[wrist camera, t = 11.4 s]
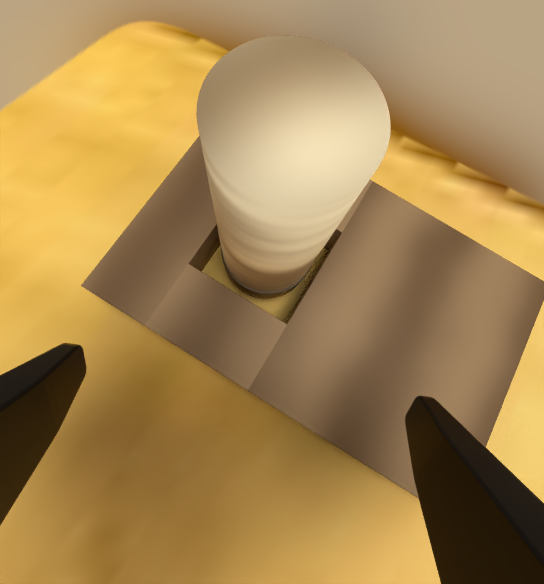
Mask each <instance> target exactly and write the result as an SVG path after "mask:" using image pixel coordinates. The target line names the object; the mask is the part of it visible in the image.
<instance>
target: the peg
mask: <svg viewBox="0 0 544 584" xmlns="http://www.w3.org/2000/svg"><path fill="white" fill-rule="evenodd" d="M197 123H198V130H199V135H200V140H201V145H202V150H203V155H204V161H205V166H206V171H207V176H208V181H209V186H210V191H211V197H212V202H213V207H214V212H215V217H216V222H217V227H218V233H219V238H220V243H221V253H222V259H223V262H224V265H225V268H226V271H227V273H228V275H229V277H230V279H231V280H232V281H233V283H234V284H235V285H236V286H237V287H238V288H239V289H241V290H242V291H244V292H245V293H247V294H249V295H252V296H254V297H258V298H274V297H278V296H281V295H284V294H286V293H288V292H290V291H291V290H292V289H294V288H295V287H296V286H297V285H298V284H299V283H300V282H301V281H302V279H303V278H304V277H305V276H306V274H307V273H308V271H309V269H310V267H311V265H312V264H313V262H314V261H315V259H316V258H317V256H318V255H319V253H320V252H321V250H322V249H323V247H324V246H325V244H326V243H327V242H328V240H329V239H330V237H331V236H332V234H333V233H334V231H335V230H336V228H337V227H338V225H339V224H340V222H341V221H342V220H343V218H344V217H345V215H346V214H347V212H348V211H349V209H350V208H351V206H352V205H353V203H354V202H355V200H356V199H357V198H358V196H359V195H360V193H361V192H362V190H363V189H364V187H365V186H366V184H367V183H368V181H369V180H370V178H371V177H372V176H373V174H374V173H375V171H376V170H377V168H378V167H379V165H380V163H381V161H382V160H383V158H384V156H385V153H386V150H387V147H388V144H389V138H390V115H389V110H388V106H387V103H386V100H385V98H384V95H383V93H382V91H381V89H380V87H379V86H378V84H377V82H376V81H375V80H374V78H373V77H372V76H371V74H370V73H369V72H368V71H367V70H366V69H365V68H364V67H363V66H362V65H361V64H360V63H359V62H358V61H356V60H355V59H354V58H353V57H351V56H350V55H348V54H347V53H345V52H344V51H342V50H340V49H338V48H336V47H334V46H332V45H330V44H328V43H325V42H323V41H319V40H316V39H312V38H308V37H302V36H291V35H279V36H269V37H263V38H259V39H256V40H252V41H250V42H247V43H244V44H242V45H240V46H238V47H236V48H235V49H233V50H231V51H230V52H229V53H227V54H226V55H225V56H223V57H222V58H221V59H220V60H219V61H218V62H217V63H216V64H215V65H214V66H213V68H212V69H211V70H210V72H209V73H208V75H207V76H206V78H205V80H204V82H203V84H202V87H201V90H200V92H199V97H198V102H197Z"/></svg>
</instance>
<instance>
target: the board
mask: <svg viewBox="0 0 544 584" xmlns="http://www.w3.org/2000/svg"><path fill="white" fill-rule="evenodd" d="M220 244H221V243H220V238H219V233H218V227H217V222H216V217H215V212H214V207H213V202H212V197H211V191H210V186H209V181H208V176H207V171H206V166H205V161H204V155H203V150H202V145H201V140H200V136H199V137H198V138H197V140H196V141H195V142H194V143H193V145H192V146H191V147H190V148H189V150H188V151H187V152H186V153H185V155H184V156H183V157H182V159H181V160H180V161H179V162H178V164H177V165H176V166H175V167H174V169H173V170H172V171H171V172H170V174H169V175H168V176H167V177H166V179H165V180H164V181H163V183H162V184H161V185H160V186H159V188H158V189H157V190H156V191H155V193H154V194H153V195H152V196H151V198H150V199H149V200H148V202H147V203H146V204H145V205H144V207H143V208H142V209H141V210H140V212H139V213H138V214H137V215H136V217H135V218H134V219H133V221H132V222H131V223H130V224H129V226H128V227H127V228H126V229H125V231H124V232H123V233H122V234H121V236H120V237H119V238H118V240H117V241H116V242H115V243H114V245H113V246H112V247H111V248H110V250H109V251H108V252H107V253H106V255H105V256H104V257H103V259H102V260H101V261H100V262H99V264H98V265H97V266H96V267H95V269H94V270H93V271H92V272H91V274H90V275H89V276H88V277H87V279H86V280H85V281H84V283H83V284H82V285H81V286H82V287H84V288H85V289H87V290H89V291H90V292H92V293H93V294H95V295H97V296H98V297H100V298H101V299H103V300H104V301H106V302H108V303H109V304H111V305H112V306H114V307H116V308H117V309H119V310H120V311H122V312H124V313H125V314H127V315H128V316H130V317H132V318H133V319H135V320H136V321H138V322H139V323H141V324H143V325H144V326H146V327H147V328H149V329H151V330H152V331H154V332H155V333H157V334H159V335H160V336H162V337H163V338H165V339H166V340H168V341H170V342H171V343H173V344H174V345H176V346H178V347H179V348H181V349H182V350H184V351H186V352H187V353H189V354H190V355H192V356H193V357H195V358H197V359H198V360H200V361H201V362H203V363H205V364H206V365H208V366H209V367H211V368H213V369H214V370H216V371H217V372H219V373H220V374H222V375H224V376H225V377H227V378H228V379H230V380H232V381H233V382H235V383H236V384H238V385H240V386H241V387H243V388H244V389H246V390H248V391H249V392H251V393H252V394H254V395H255V396H257V397H259V398H260V399H262V400H263V401H265V402H267V403H268V404H270V405H271V406H273V407H275V408H276V409H278V410H279V411H281V412H282V413H284V414H286V415H287V416H289V417H290V418H292V419H294V420H295V421H297V422H298V423H300V424H302V425H303V426H305V427H306V428H308V429H309V430H311V431H313V432H314V433H316V434H317V435H319V436H321V437H322V438H324V439H325V440H327V441H329V442H330V443H332V444H333V445H335V446H336V447H338V448H340V449H341V450H343V451H344V452H346V453H348V454H349V455H351V456H352V457H354V458H356V459H357V460H359V461H360V462H362V463H364V464H365V465H367V466H368V467H370V468H371V469H373V470H375V471H376V472H378V473H379V474H381V475H383V476H384V477H386V478H387V479H389V480H391V481H392V482H394V483H395V484H397V485H398V486H400V487H402V488H403V489H405V490H406V491H408V492H410V493H411V494H413V495H414V496H416V497H418V493H417V489H416V485H415V481H414V476H413V471H412V465H411V458H410V452H409V445H408V439H407V432H406V426H405V416H406V413H407V411H408V410H409V408H410V406H411V405H412V403H413V401H414V399H415V398H416V397H417V396H420V395H421V396H428V397H432V398H434V399H436V400H437V401H438V402H439V403H440V404H441V405H442V406H443V407H444V408H445V409H446V410H447V411H448V412H449V413H450V414H451V415H452V416H453V417H454V418H455V419H457V420H458V421H459V422H460V423H461V424H462V425H463V426H464V427H465V428H466V429H467V430H468V431H469V432H470V433H471V434H472V435H473V436H474V437H475V438H476V439H477V440H478V441H479V442H480V443H481V444H483V445H484V446H485V447H486V445H487V442H488V440H489V437H490V435H491V432H492V430H493V427H494V425H495V422H496V420H497V417H498V414H499V412H500V409H501V407H502V404H503V402H504V399H505V397H506V394H507V392H508V389H509V387H510V384H511V382H512V379H513V377H514V374H515V371H516V369H517V366H518V364H519V361H520V359H521V356H522V354H523V351H524V349H525V346H526V344H527V341H528V339H529V336H530V333H531V331H532V328H533V326H534V323H535V321H536V318H537V316H538V313H539V311H540V308H541V306H542V303H543V301H544V281H542V280H541V279H539V278H537V277H535V276H534V275H532V274H530V273H529V272H527V271H525V270H523V269H522V268H520V267H518V266H517V265H515V264H513V263H512V262H510V261H508V260H506V259H505V258H503V257H501V256H500V255H498V254H496V253H494V252H493V251H491V250H489V249H488V248H486V247H484V246H482V245H481V244H479V243H477V242H476V241H474V240H472V239H470V238H469V237H467V236H465V235H464V234H462V233H460V232H459V231H457V230H455V229H453V228H452V227H450V226H448V225H447V224H445V223H443V222H441V221H440V220H438V219H436V218H435V217H433V216H431V215H429V214H428V213H426V212H424V211H423V210H421V209H419V208H418V207H416V206H414V205H412V204H411V203H409V202H407V201H406V200H404V199H402V198H400V197H399V196H397V195H395V194H394V193H392V192H390V191H388V190H387V189H385V188H383V187H382V186H380V185H378V184H376V183H375V182H373V181H371V180H369V181H368V183H367V184H366V186H365V187H364V189H363V190H362V192H361V193H360V195H359V196H358V198H357V199H356V200H355V202H354V203H353V205H352V206H351V208H350V209H349V211H348V212H347V214H346V215H345V217H344V218H343V220H342V221H341V222H340V224H339V225H338V227H337V228H336V230H335V231H334V233H333V234H332V236H331V237H330V239H329V240H328V242H327V243H326V244H325V246H324V248H326V249H328V250H329V251H328V253H327V254H326V256H325V258H324V259H323V261H322V263H321V264H320V266H319V268H318V269H317V271H316V273H315V274H314V276H313V278H312V279H311V281H310V283H309V284H308V286H307V288H306V289H305V291H304V293H303V294H302V296H301V298H300V299H299V301H298V303H297V304H296V306H295V308H294V309H293V311H292V313H291V314H290V316H289V318H288V319H287V321H286V323H284V322H282V321H281V320H279V319H277V318H276V317H274V316H272V315H271V314H269V313H268V312H266V311H264V310H263V309H261V308H259V307H258V306H256V305H255V304H253V303H251V302H250V301H248V300H246V299H245V298H243V297H242V296H240V295H238V294H237V293H235V292H233V291H232V290H230V289H228V288H227V287H225V286H224V285H222V284H220V283H219V282H217V281H215V280H214V279H212V278H211V277H209V276H207V275H206V274H204V273H202V272H201V271H202V269H203V268H204V267H205V265H206V264H207V262H208V261H209V259H210V258H211V256H212V255H213V254H214V252H215V251H216V249H217V248H218V246H219V245H220ZM418 498H419V497H418Z"/></svg>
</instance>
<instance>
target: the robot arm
mask: <svg viewBox="0 0 544 584" xmlns="http://www.w3.org/2000/svg"><path fill="white" fill-rule="evenodd" d="M85 374H86V363H85V357H84V352H83V348H82V347H81V346H80V345H77V344H70V343H63V344H61V345H59V346H57V347H55V348H53V349H51V350H49V351H47V352H45V353H43V354H41V355H39V356H37V357H35V358H33V359H31V360H29V361H27V362H25V363H24V364H22V365H20V366H18V367H16V368H14V369H12V370H10V371H8V372H6V373H4V374H2V375H0V525H1V523H2V522H3V520H4V519H5V517H6V515H7V514H8V512H9V510H10V509H11V507H12V506H13V504H14V502H15V501H16V499H17V497H18V496H19V494H20V493H21V491H22V489H23V488H24V486H25V485H26V483H27V481H28V480H29V478H30V476H31V475H32V473H33V472H34V470H35V468H36V467H37V465H38V463H39V462H40V460H41V459H42V457H43V455H44V454H45V452H46V450H47V449H48V447H49V446H50V444H51V442H52V441H53V439H54V437H55V436H56V434H57V432H58V430H59V429H60V427H61V425H62V423H63V421H64V419H65V417H66V414H67V412H68V410H69V408H70V406H71V404H72V402H73V400H74V398H75V396H76V394H77V392H78V390H79V387H80V385H81V383H82V381H83V379H84V377H85ZM405 426H406V432H407V439H408V445H409V452H410V458H411V465H412V471H413V476H414V481H415V485H416V489H417V493H418V497H419V501H420V505H421V508H422V512H423V516H424V520H425V524H426V528H427V531H428V535H429V539H430V543H431V547H432V551H433V554H434V558H435V562H436V566H437V570H438V574H439V577H440V581H441V584H544V503H543V502H542V501H541V500H540V499H539V498H538V497H537V496H535V495H534V494H533V493H532V492H531V491H530V490H529V489H528V488H527V487H526V486H525V485H524V484H523V483H522V482H521V481H520V480H519V479H518V478H517V477H516V476H515V475H514V474H513V473H512V472H511V471H510V470H508V469H507V468H506V467H505V466H504V465H503V464H502V463H501V462H500V461H499V460H498V459H497V458H496V457H495V456H494V455H493V454H492V453H491V452H490V451H489V450H488V449H487V448H486V447H485V446H484V445H483V444H481V443H480V442H479V441H478V440H477V439H476V438H475V437H474V436H473V435H472V434H471V433H470V432H469V431H468V430H467V429H466V428H465V427H464V426H463V425H462V424H461V423H460V422H459V421H458V420H457V419H455V418H454V417H453V416H452V415H451V414H450V413H449V412H448V411H447V410H446V409H445V408H444V407H443V406H442V405H441V404H440V403H439V402H438V401H437V400H436V399H434V398H432V397H428V396H421V395H420V396H417V397H416V398H415V399H414V401H413V403H412V405H411V406H410V408H409V410H408V411H407V413H406V416H405Z"/></svg>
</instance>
